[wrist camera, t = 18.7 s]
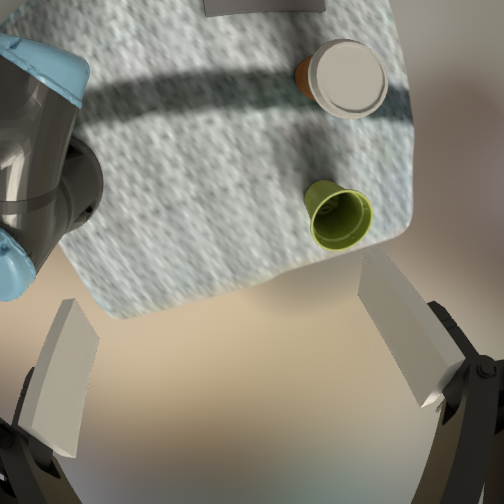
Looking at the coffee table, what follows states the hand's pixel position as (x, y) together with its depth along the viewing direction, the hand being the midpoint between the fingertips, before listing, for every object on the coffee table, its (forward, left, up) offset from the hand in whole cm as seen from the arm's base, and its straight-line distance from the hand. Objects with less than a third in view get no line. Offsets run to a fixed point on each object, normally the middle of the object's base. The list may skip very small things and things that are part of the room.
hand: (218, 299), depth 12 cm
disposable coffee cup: (+16, +8, -32) cm, 37 cm away
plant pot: (+16, -11, -32) cm, 37 cm away
